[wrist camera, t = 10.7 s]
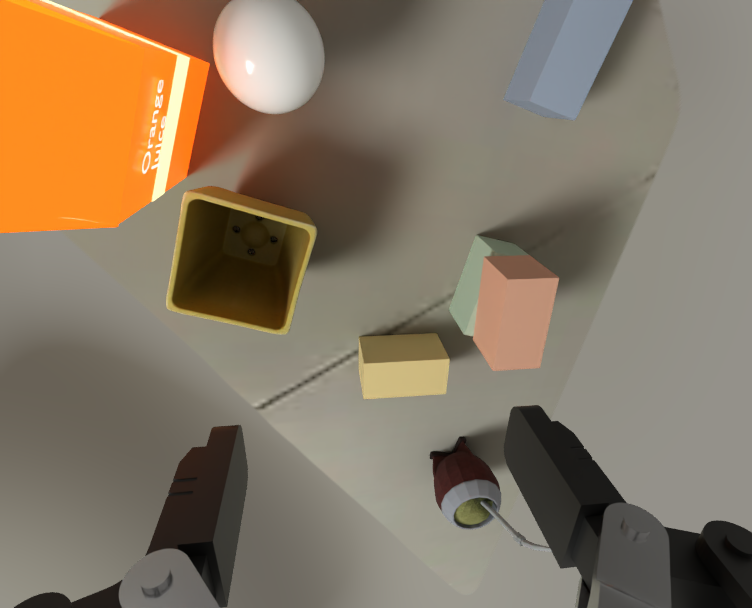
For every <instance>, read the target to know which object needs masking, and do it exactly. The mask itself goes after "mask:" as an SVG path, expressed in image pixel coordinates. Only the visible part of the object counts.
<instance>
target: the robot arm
mask: <svg viewBox="0 0 752 608" xmlns="http://www.w3.org/2000/svg"><path fill="white" fill-rule="evenodd" d="M504 455H505V460H506V463H507V465H508V468H509V470H510V471H511V473H512V475H513V477H514V479H515V481H516V483H517V485H518V487H519V489H520V491H521V493H522V495H523V497H524V499H525V501H526V502H527V504H528V506H529V508H530V510H531V512H532V514H533V516H534V518H535V520H536V522H537V524H538V526H539V528H540V529H541V531H542V533H543V535H544V537H545V539H546V541H547V543H548V545H549V547H550V549H551V551H552V553H553V555H554V556H555V558H556V560H557V562H558V564H559V566H560V568H569V567H577V569H578V570H579V572H580V574H581V578H580V581H579V586H578V592H577V599H576V605H575V608H752V533H751V532H750V531H748V530H746V529H745V528H742V527H741V526H738V525H736V524H733V523H730V522H726V521H711V522H708V523H707V524H706V525H705V527H704V528H703V530H702V532H701V534H698V533H692V532H688V531H683V530H677V529H672V528H667V527H664V526H663V525H662V524H661V523H660V522H659V521H658V519H656V518H655V517H654V516H653V515H652V514H650V513H649V512H647V511H646V510H644V509H642V508H640V507H638V506H635V505H632V504H628V503H626V501H625V500H624V499H623V498H622V496H621V495H620V494H619V493H618V491H617V490H616V488H615V487H614V486H613V485H612V483H611V482H610V480H609V479H608V478H607V476H606V475H605V474H604V472H603V471H602V470H601V469H600V467H599V466H598V464H597V463H596V462H595V461H594V460H592V457H591V455H590V454H589V453H588V452H587V450H586V449H584V446H583V445H582V443H581V442H580V441H579V439H578V438H577V437H576V436H575V434H574V433H573V432H572V431H570V430H569V429H568V428H566V427H565V426H564V425H562V424H561V423H560V422H558V421H552V422H551V420H550V419H549V417H548V416H547V415H546V413H545V412H544V410H543V409H542V408H541V407H540V406H538V405H532V406H518V407H513V408H512V410H511V412H510V417H509V422H508V428H507V433H506V438H505V443H504ZM247 470H248V468H247V460H246V453H245V446H244V439H243V433H242V428H241V425H235V426H219V427H213V428H212V430H211V433H210V437H209V440H208V443H207V446H206V447H194V448H192V449H191V450H190V451H189V452H188V453H187V455H186V456H185V457H184V458H183V459H182V460H181V461H180V463H179V465H178V468H177V471H176V474H175V476H174V479H173V483H172V485H171V488H170V490H169V495H168V497H167V499H166V501H165V504H164V507H163V510H162V513H161V515H160V518H159V521H158V524H157V527H156V530H155V533H154V535H153V538H152V541H151V544H150V546H149V549H148V551H147V554H146V555H145V557H143V558H142V559H141V560H139V561H138V562H137V563H136V564H134V565H133V566H132V567H131V569H130V570H129V571H128V572H127V574H126V575H125V577H124V579H123V580H121V581H120V582H118V583H117V584H115V585H113V586H111V587H109V588H107V589H104V590H102V591H99V592H97V593H94V594H92V595H89V596H87V597H84V598H82V599H79V600H77V601H74V602H72V603H71V602H70V600H69V599H68V598H67V597H66V596H65V595H63V594H60V593H54V592H50V593H43V594H39V595H37V596H34V597H31V598H29V599H27V600H25V601H24V602H22V603H20V604H18V605H17V606H16V607H14V608H221V607H227V604H228V597H229V592H230V585H231V580H232V574H233V568H234V562H235V556H236V550H237V543H238V537H239V532H240V526H241V519H242V514H243V508H244V501H245V496H246V490H247V480H248V471H247Z"/></svg>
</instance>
